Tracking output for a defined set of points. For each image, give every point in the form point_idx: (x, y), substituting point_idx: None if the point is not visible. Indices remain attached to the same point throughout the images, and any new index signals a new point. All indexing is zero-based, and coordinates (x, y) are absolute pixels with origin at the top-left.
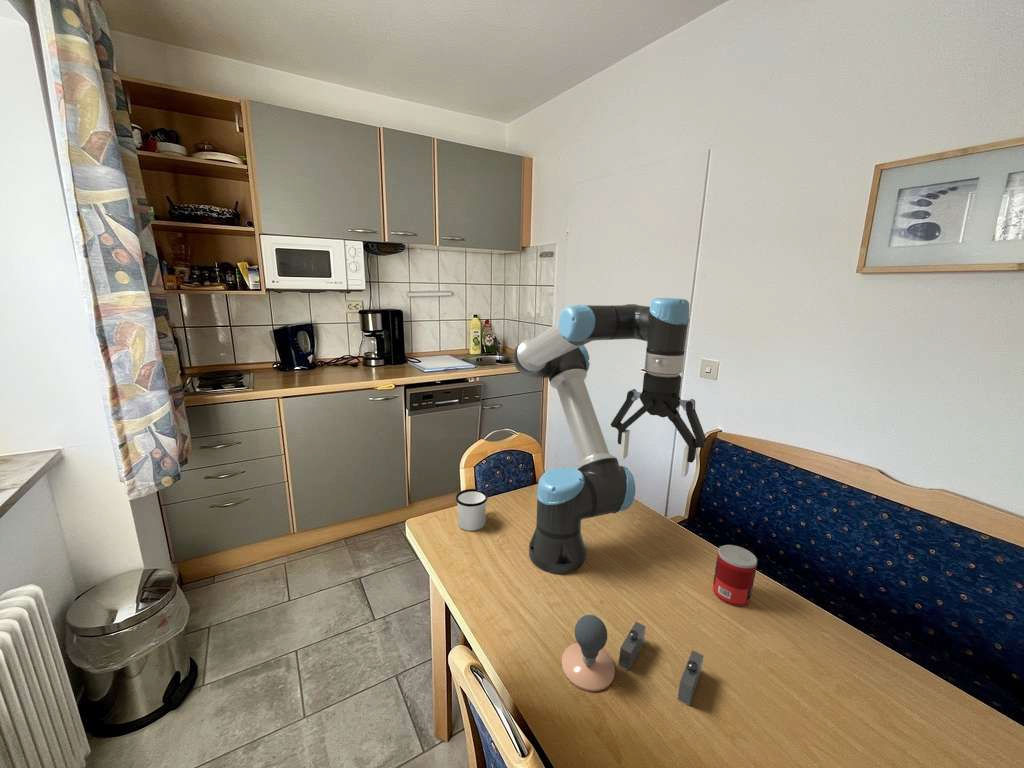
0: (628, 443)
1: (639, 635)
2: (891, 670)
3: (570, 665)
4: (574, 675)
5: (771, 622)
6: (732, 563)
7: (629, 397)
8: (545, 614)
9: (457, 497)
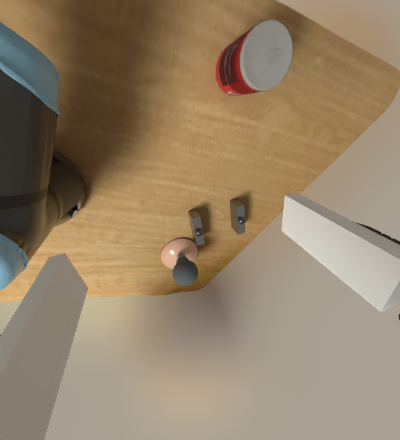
0: (37, 309)
1: (201, 227)
2: (355, 70)
3: (172, 263)
4: None
5: (274, 87)
6: (263, 90)
7: None
8: (122, 250)
9: None
